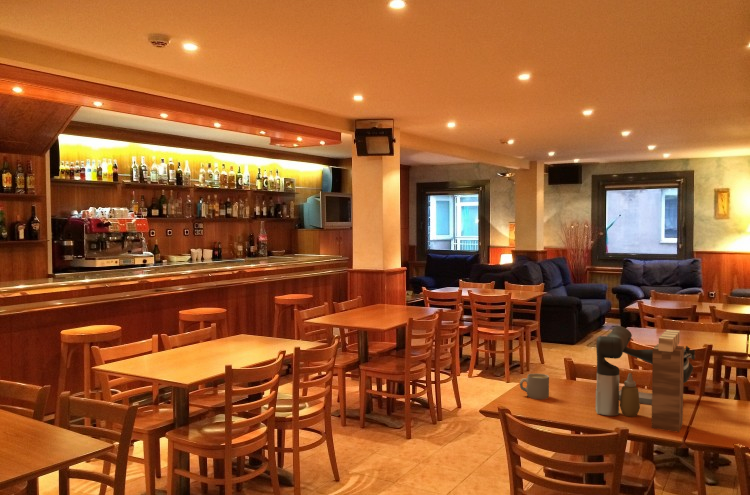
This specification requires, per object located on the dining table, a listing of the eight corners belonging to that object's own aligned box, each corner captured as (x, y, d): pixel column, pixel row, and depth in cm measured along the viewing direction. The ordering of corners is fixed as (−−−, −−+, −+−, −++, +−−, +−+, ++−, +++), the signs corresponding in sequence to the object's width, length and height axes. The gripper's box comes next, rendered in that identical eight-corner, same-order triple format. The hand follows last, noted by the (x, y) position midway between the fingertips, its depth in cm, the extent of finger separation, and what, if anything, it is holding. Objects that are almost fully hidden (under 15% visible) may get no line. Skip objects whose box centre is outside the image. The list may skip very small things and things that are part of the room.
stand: (679, 432, 248) (680, 351, 247) (651, 427, 253) (652, 348, 252) (682, 424, 258) (683, 346, 257) (656, 420, 264) (657, 344, 263)
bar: (672, 351, 246) (672, 339, 246) (658, 350, 249) (658, 337, 248) (679, 342, 266) (680, 330, 266) (666, 341, 269) (667, 329, 269)
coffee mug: (550, 395, 303) (551, 374, 303) (546, 400, 294) (546, 379, 294) (523, 391, 309) (523, 371, 309) (517, 396, 300) (517, 375, 300)
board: (616, 399, 295) (616, 394, 295) (620, 394, 304) (620, 389, 304) (677, 408, 281) (677, 402, 281) (680, 402, 291) (680, 397, 290)
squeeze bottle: (634, 412, 275) (635, 371, 274) (643, 417, 267) (643, 375, 266) (616, 412, 275) (616, 371, 274) (624, 417, 267) (624, 375, 266)
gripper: (696, 369, 282) (693, 357, 269) (661, 365, 289) (657, 353, 277) (697, 353, 285) (694, 340, 272) (662, 350, 292) (658, 337, 280)
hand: (675, 347), depth 275 cm, fingers open, 8 cm apart
